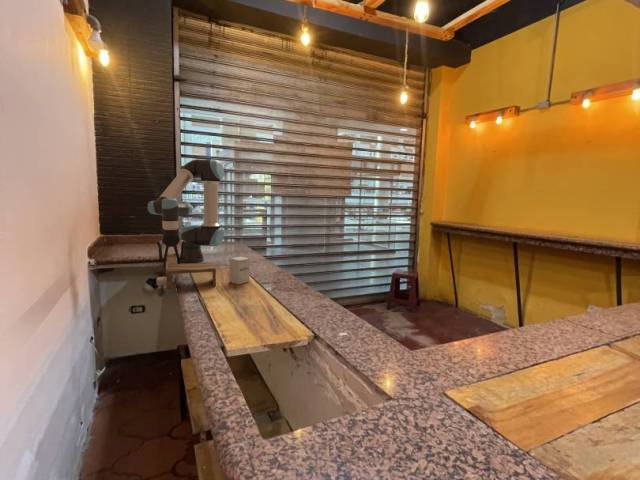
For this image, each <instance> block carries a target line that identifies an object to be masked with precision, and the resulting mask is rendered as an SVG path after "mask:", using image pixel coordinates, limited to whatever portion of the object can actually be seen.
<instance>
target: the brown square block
mask: <svg viewBox="0 0 640 480" xmlns="http://www.w3.org/2000/svg"><path fill="white" fill-rule="evenodd" d="M156 286H157V287H158V286H167V277H166V276H157V277H156Z"/></svg>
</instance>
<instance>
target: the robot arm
mask: <svg viewBox="0 0 640 480" xmlns="http://www.w3.org/2000/svg"><path fill="white" fill-rule="evenodd" d="M224 176H225V168H224V166H223V163H222V162H221V161H219V160H218V159H192V160H190V161H188V162H186V163H185V164H184V165H183V166H181V167H180V168H179V170H178V172H177V175H176V177H174V178H173V180H172V182H171V183H169V185H168V186H167V187H166V188H165V190H164V191H163V192H162V193H161V194H160V196H159V197H158V198H157V199H156V200H151V201H149V202H148V203H147V211H148V212H149V214H151V215H157V216H159V215H160V216H162V238H161V240H158V241H156V244H157V246H158V259H159V261H162V262H163V268H165V271H166V270H167V253H169V248H171V247H172V248H173V249H174V253H175V254H176V264H181V263H182V264H186V263H202V262H203V261H204V259H205V257H204V255H203V254H204V253H203V252H202V248H201V246H204V247H205V246H206V247H219V246H221V244H222V243H223V241H224V238H225V232H224V230H223V228H221V224H220V223H219V221H218V220H219V218H218V217H219V184H220V183H221V180H223V178H224ZM195 179H200V182H201V183H202V184H203V223H202V224H191V225H185V226H184V225H183V226H182V227H181V229H180V232H179V228H180V226H179V223H180V222H179V217H186V216H190V215H191V214H192V211H193V206H192V204H191V203H190V202H187V201H178V198H179V196H180V195H181V193H182V192H183V191H184V190H185V188H186V187H187V186H188V184H189V183H192V182H193V181H194V180H195ZM180 238H181V239H180ZM163 244H164V245H165V251H164V255H163V250H162V248H163V247H162V245H163ZM178 244H180V253H179V250H178Z"/></svg>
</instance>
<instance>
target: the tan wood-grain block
mask: <svg viewBox="0 0 640 480" xmlns="http://www.w3.org/2000/svg"><path fill="white" fill-rule="evenodd" d="M176 260H177V257H176V254H175V252H168V253H167V259H166V261H167V268H168V266H169V264H176ZM177 275H178V273H177V274H172V285H173V284H174V281H175V278H176V277H177Z"/></svg>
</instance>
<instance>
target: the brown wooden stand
mask: <svg viewBox="0 0 640 480" xmlns="http://www.w3.org/2000/svg"><path fill="white" fill-rule="evenodd" d="M216 269H217V268H216V263H215V262H196V263H180V264H169V266H168V268H167V270H166V269H165V274H166V276H165V277H167V285H166V290H172V288H173V284H172V274H177V275H178V274H193V273H197V274H198V273H211V275H212V287H213V286H216V287H217V273H216V271H217V270H216Z"/></svg>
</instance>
